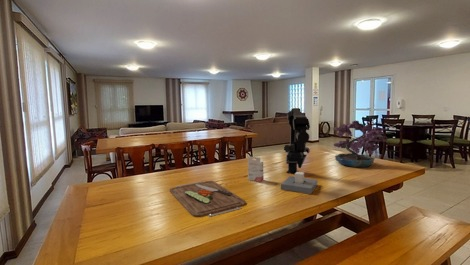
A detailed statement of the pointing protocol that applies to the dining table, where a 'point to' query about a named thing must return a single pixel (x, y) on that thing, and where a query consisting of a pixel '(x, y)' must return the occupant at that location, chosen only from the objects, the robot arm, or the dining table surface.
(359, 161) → the bonsai tree
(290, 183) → the socket block
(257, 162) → the ink cartridge box
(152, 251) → the dining table surface
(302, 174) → the plug peg
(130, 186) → the dining table surface
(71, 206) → the dining table surface
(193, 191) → the chopping board
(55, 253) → the dining table surface
